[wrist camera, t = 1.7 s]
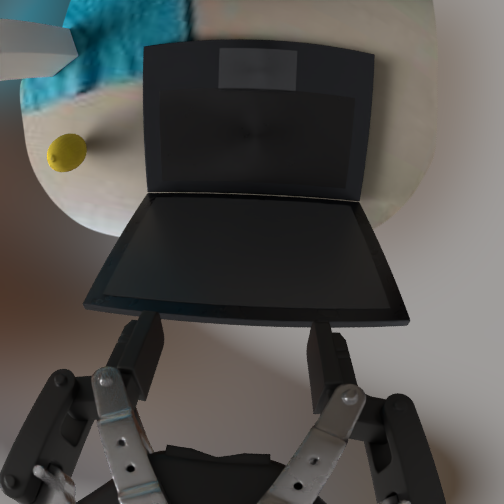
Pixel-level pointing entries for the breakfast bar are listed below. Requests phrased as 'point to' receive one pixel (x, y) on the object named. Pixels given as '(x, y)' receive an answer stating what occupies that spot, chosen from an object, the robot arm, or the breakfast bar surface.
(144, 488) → the robot arm
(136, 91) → the breakfast bar surface
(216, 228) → the laptop screen
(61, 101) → the breakfast bar surface
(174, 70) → the laptop
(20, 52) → the milk
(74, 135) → the lemon
